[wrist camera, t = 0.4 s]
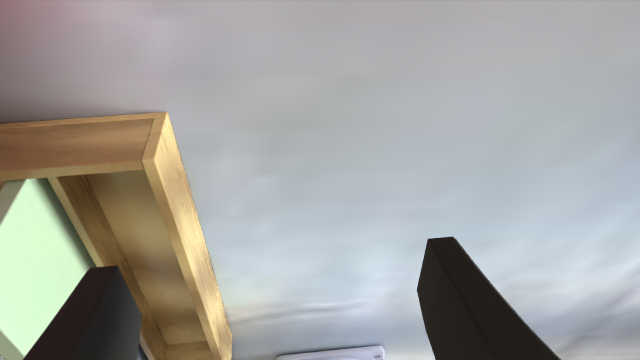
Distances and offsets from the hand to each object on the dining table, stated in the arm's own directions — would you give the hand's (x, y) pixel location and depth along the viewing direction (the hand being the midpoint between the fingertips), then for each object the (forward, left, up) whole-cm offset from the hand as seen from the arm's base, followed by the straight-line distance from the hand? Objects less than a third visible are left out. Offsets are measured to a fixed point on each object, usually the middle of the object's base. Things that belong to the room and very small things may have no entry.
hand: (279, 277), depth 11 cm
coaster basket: (-11, +10, -10) cm, 18 cm away
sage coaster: (-6, +10, -10) cm, 15 cm away
